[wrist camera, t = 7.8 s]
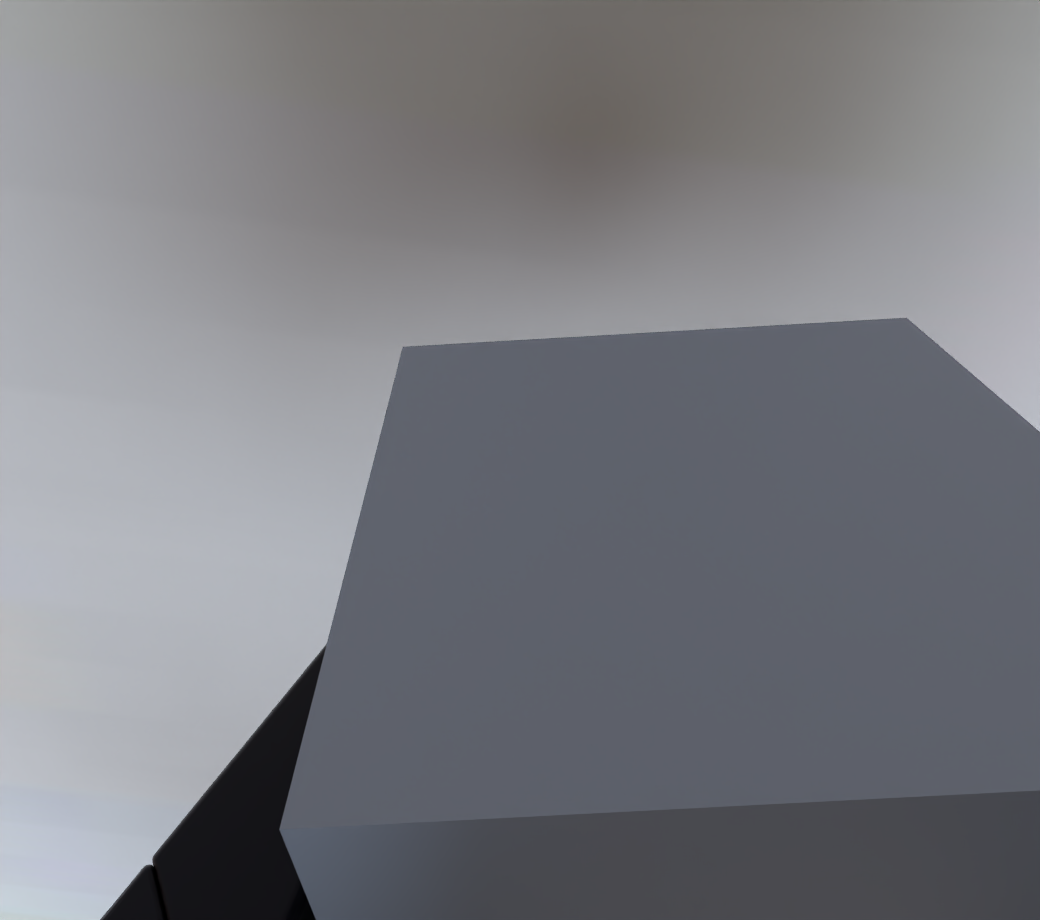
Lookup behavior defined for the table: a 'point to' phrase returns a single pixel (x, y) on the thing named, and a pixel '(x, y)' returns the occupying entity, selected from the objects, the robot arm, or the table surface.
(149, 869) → the robot arm
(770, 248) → the table surface
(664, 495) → the slate blue block
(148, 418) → the table surface
